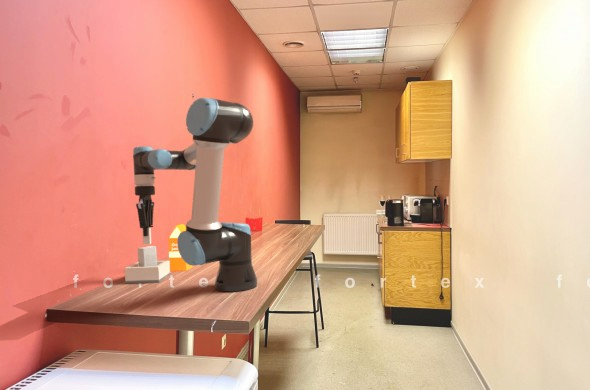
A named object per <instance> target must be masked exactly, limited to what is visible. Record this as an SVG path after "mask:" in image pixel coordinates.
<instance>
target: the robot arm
mask: <svg viewBox="0 0 590 390" xmlns="http://www.w3.org/2000/svg"><path fill="white" fill-rule="evenodd" d="M185 126H186V129H187V131H188V132H189V134H191V135H192V141H193V143H192V144H190V145H189V146H188V147H186V148H185V149H183V150H169V149H168V150H166V149H165V148H156V149H154V148H153V147H151V146H144V145H143V146H135V147H133V151H132V153H133V154H132V158H133V159H132V160H133V161H132V162H133V174H134V175H133V180H134V181H133V182H134V186H135V187H134V195H135V197H137V196H138V203H135V204H136V205H135V206H136V209H137V216H138V222H139V228H140V229H142V245H151V244H152V229H151V228H153V227H154V224H153V223H154V207H155V202H154V201H153V200H152V196H155V194H156V186H155V179H156V177H155V171H156V170H161V171H162V170H167V171H168V170H170V171H171V170H175V171H177V170H179V171H181V170H184V171H192V170H193V171H194V170H195V171H194V181H193V195H192V207H191V208H192V209H191V218H190V219H189V220H188V221H187V222H186V223H185V227H186V231H183V232H181V233H180V234H179V236H178V239H177V246H178V251H179V253H180V255H181V258H182V259H183V260H184V262H185V263H187V264H188V265H191V266H193V267H194V266H204V265H206V264H211V263H215V262H218V263H219V267H218V270H217V274H216V277H215V280H214V286H215V289H216V290H217V291H220V292H221V291H222V292H240V291H247V290H250V289H254V288H256V287H257V286H258V278H257V275H256V271H255V269H254V266H253V258H252V234H251V232H252V231H251V227H250V225H249V224H248V223H241V222H240V223H239V222H220V221H219V212H220V202H221V201H220V200H221V190H222V189H221V188H222V179H223V168H224V154H225V149H226V148H227V147H228V146H230V145H231V144H238V143H240V142H241V141H243V140H245V139H246V138H248V136H249V135H250V134H252V133H251V132H252V130H253V127H254V117H253V115H252V112H251V111H250V110H249V109H248V108H247V106H245V105H243V104H241V103H239V102H233V101H232V102H231V101H226V100H221V99H216V98H212V97H211V98H209V97H199V98H197V99H195V100H194V101H193V102H192V104H190V106H189V107H188V110H187V113H186V118H185Z"/></svg>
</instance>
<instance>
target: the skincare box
mask: <svg viewBox="0 0 590 390" xmlns="http://www.w3.org/2000/svg"><path fill="white" fill-rule="evenodd" d="M137 259H138V260H137V262H139V267H152V266H157V261H158V252H157V246H155V245H148V246H143V247H142V246H141V247H137Z"/></svg>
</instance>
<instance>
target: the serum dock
mask: <svg viewBox="0 0 590 390" xmlns="http://www.w3.org/2000/svg"><path fill="white" fill-rule="evenodd" d="M124 273H125V275H124V276H125V277H124V278H125V284H153V283H161V282H162V281H163V280H165V279H166V278H167V277H169V276H170V275H171V271H170V261H169V260H157V266H152V267H139V262H138V261H136V262H134V263H133V264H130V265H129V266H126V267H125V268H124Z"/></svg>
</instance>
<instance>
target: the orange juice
mask: <svg viewBox="0 0 590 390" xmlns="http://www.w3.org/2000/svg"><path fill="white" fill-rule="evenodd" d="M183 231H186V224H184V223H181V224H177V225H175V227H174V228H173V230H172V231H171V233H170V235H169V237H168V259H169V260H168V261H170V272H185V271H186V272H187V271H188V270H190V269H192V268H194V266H191V265H188V264H187V263H185V262H184V260H183V259H182V258H181V255H180V253H179V251H178V246H177V239H178V236H179V234H180V233H181V232H183Z"/></svg>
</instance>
